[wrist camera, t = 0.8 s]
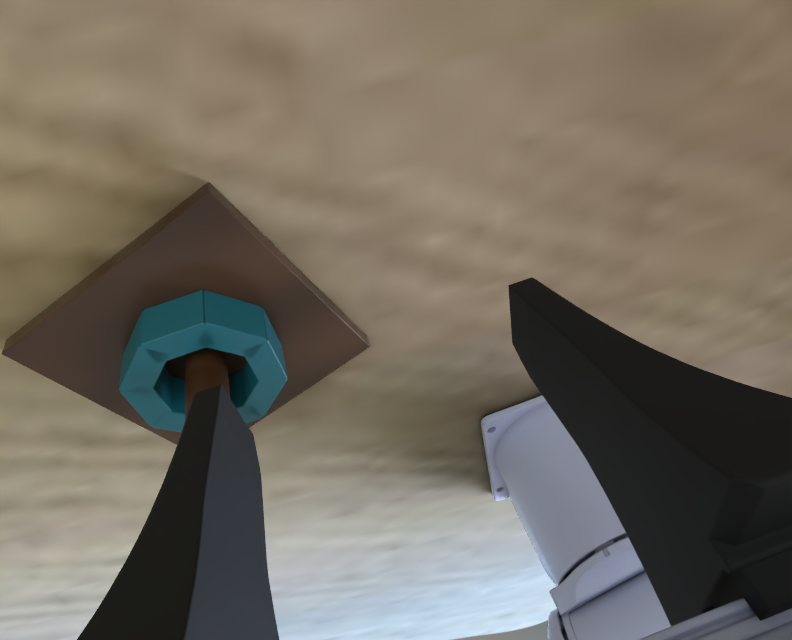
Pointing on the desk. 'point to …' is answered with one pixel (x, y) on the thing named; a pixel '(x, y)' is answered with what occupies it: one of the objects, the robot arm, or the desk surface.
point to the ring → (193, 330)
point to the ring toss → (176, 277)
